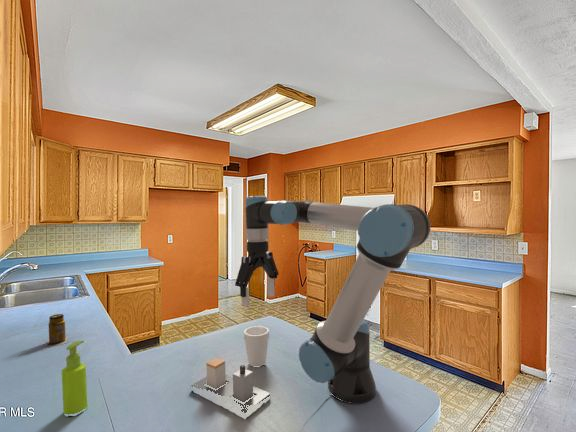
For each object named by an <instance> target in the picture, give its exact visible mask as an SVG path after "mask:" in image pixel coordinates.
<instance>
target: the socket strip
mask: <svg viewBox="0 0 576 432" xmlns="http://www.w3.org/2000/svg"><path fill="white" fill-rule="evenodd" d="M225 375H226V382H228V383H227V384H226V385H224V386H223V387H221V388H219V389H218V390H216V391H215V390H213V389H211V388H209V387H206V386H204V384H206V383H207V376H205V377H204V378H202V379H200V380H198V381H196V382H195V383H193V384H191V385H190V387H191V386H192V387H193V386H194V387H196V388H198V389H200V388H201V389H202V390H203V389H206V390H207V391H208V390H210V391H211V392H212V391H213V392H214V393H215V394H217V393H218V395H221V396H228V397H231V396H233V376H230V375H228V374H226V373H225ZM195 384H196V385H195ZM197 385H198V386H197ZM253 394H254V395H256V396H254V397H253V398H252V399H250V400H249V401H248V402H246V403H245V404H244V405H245V407H244V405H243V404H241V403H239V402H238V404H240V406H241V405H242V406H243V408H244V409H242V410H241V411H242V412H243V411H244V413H246V412H247V410H248V409H247V408H246V405H249V406H250V405H254V406H255V405H256V404H258V403H260V402H261V401H263V400H264V399H266V398H267V397H269V396H270V397H271V393H270V392H268V391H265V390H264V389H261V388H259V387H256V386H254V385H253ZM228 400H229V398H228ZM230 400H232V399H231V398H230ZM234 401H235V400H234ZM236 403H237V401H236ZM247 407H248V406H247ZM241 408H242V407H241ZM245 408H246V409H247V410H246V409H245Z"/></svg>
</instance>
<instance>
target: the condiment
mask: <svg viewBox="0 0 576 432" xmlns="http://www.w3.org/2000/svg"><path fill="white" fill-rule="evenodd" d="M68 343H69V342H68V338H67V335H66V320H65V315H64V314H63V313H57V314H51V315H50V316H49V321H48V340H47V341H46V344H47V348H51V347H56V346H60V345H63V344H64V345H65V344H68Z"/></svg>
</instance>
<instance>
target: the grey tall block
mask: <svg viewBox="0 0 576 432" xmlns="http://www.w3.org/2000/svg"><path fill="white" fill-rule="evenodd" d="M232 377H233V397H234V398H236V399H238V400H240V401H242V402H245V401H246V400H248V399H249V398H251V397H252V396H253V386H254V380H253V379H254V375H253V371H251V370H250V369H246V365H244V364H241V365H239V369H238V370H237V371H235V372H233V373H232Z"/></svg>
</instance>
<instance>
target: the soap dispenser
mask: <svg viewBox="0 0 576 432" xmlns="http://www.w3.org/2000/svg"><path fill="white" fill-rule="evenodd" d="M84 342H85V340H76V341H73V342H72V343H70V344H69V345H68V346H66V350H69V355H67V356H66V366H65V367H63V368H62V370H61V382H62V383H61V385H62V406H63V407H62V408H63V409H62V410H63V415H64V414H68V415H69V414H75V413H78V412H80V411H82V410H83V409H85V408H86V407H87V408H88V393H87V391H88V388H87V367H86V364H85V363H84V362H81V354H80V353H78V352H77V347H78V346H79V345H81V344H83V343H84Z"/></svg>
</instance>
